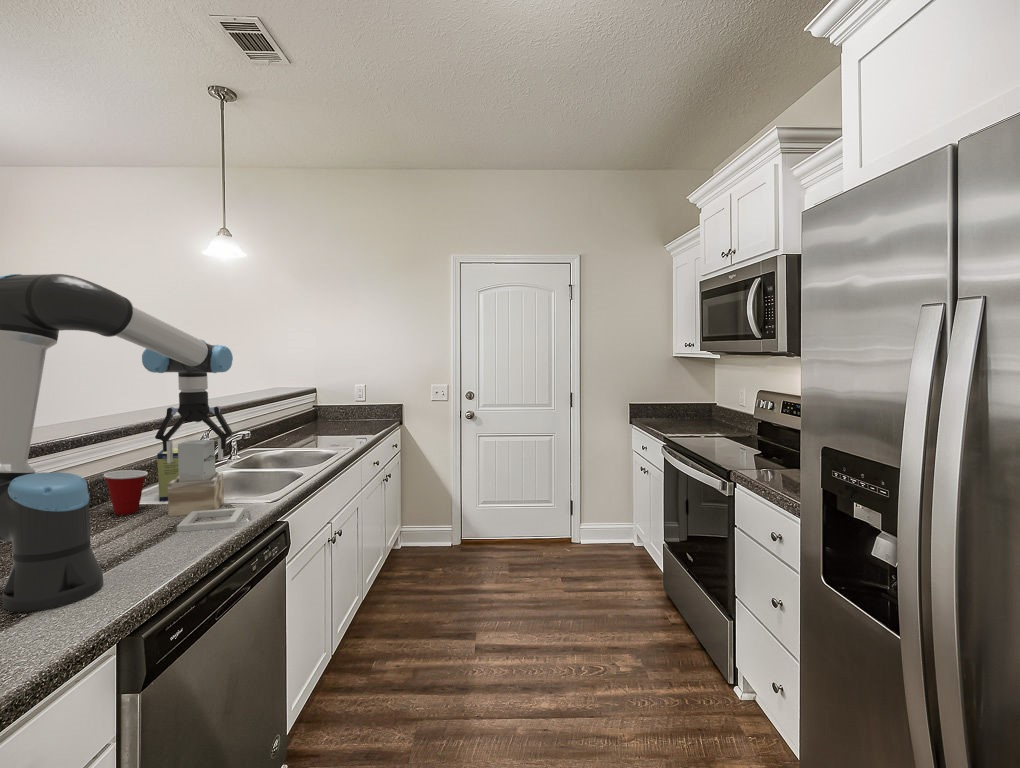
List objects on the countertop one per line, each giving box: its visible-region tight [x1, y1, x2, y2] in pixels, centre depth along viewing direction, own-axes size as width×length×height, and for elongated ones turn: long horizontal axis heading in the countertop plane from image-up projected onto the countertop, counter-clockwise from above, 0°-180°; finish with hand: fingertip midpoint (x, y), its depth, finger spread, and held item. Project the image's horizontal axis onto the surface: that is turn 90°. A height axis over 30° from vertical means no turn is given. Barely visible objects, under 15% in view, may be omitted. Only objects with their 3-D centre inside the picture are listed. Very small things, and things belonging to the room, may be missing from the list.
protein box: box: [156, 445, 217, 502], centre depth 179 cm, size 10×16×16 cm
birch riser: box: [167, 471, 225, 517], centre depth 164 cm, size 12×12×10 cm
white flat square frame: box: [176, 507, 246, 533], centre depth 152 cm, size 14×14×2 cm
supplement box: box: [177, 439, 216, 482], centre depth 163 cm, size 7×7×13 cm
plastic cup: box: [103, 469, 149, 516], centre depth 160 cm, size 11×11×12 cm
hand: (195, 461), depth 163 cm, fingers open, 13 cm apart
